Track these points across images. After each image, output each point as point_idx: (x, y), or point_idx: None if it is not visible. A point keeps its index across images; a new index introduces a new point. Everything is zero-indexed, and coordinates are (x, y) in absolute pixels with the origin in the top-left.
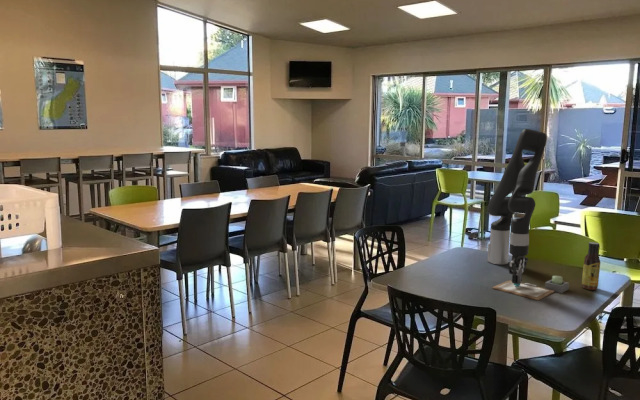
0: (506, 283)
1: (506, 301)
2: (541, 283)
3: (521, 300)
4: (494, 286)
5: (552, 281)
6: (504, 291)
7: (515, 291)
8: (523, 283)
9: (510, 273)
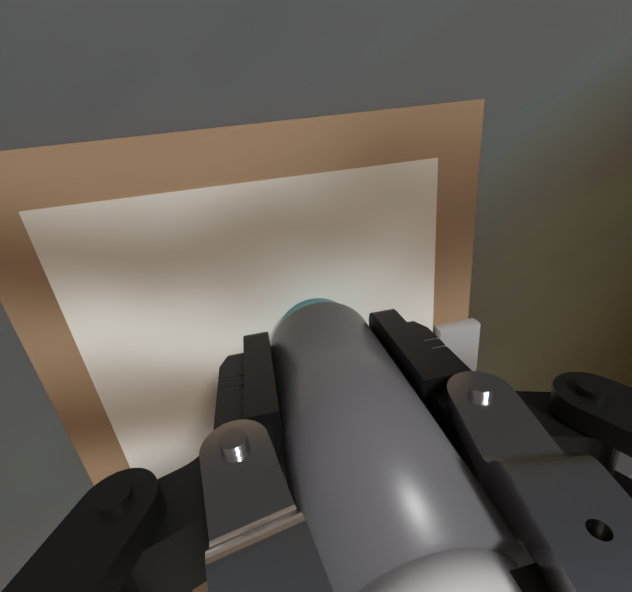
0: (300, 182)
1: None
2: (608, 349)
3: (10, 563)
4: (2, 157)
5: None
6: (33, 344)
7: (125, 435)
8: (466, 298)
9: (101, 505)
